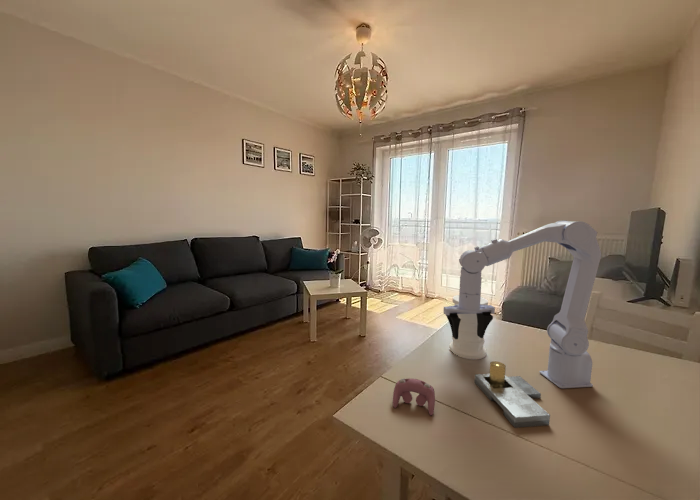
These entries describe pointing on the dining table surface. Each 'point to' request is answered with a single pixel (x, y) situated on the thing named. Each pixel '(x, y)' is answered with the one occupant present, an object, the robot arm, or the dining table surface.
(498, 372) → the pin
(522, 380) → the lower link
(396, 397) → the video game controller
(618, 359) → the dining table surface
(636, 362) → the dining table surface
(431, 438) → the dining table surface
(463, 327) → the decorative container
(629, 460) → the dining table surface
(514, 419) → the upper link
